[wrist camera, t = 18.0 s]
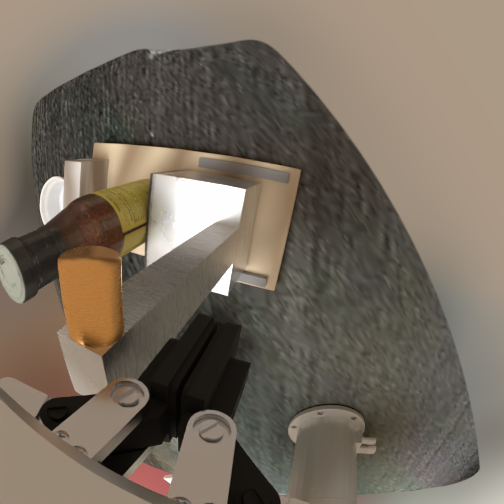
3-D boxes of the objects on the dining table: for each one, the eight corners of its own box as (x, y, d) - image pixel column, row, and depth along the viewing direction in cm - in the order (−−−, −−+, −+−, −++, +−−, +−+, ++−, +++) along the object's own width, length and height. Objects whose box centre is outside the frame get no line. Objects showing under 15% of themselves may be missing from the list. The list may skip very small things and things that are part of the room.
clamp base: (301, 169, 28) (298, 171, 21) (276, 283, 32) (266, 314, 26) (104, 142, 32) (66, 143, 25) (98, 235, 36) (64, 250, 30)
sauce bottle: (136, 175, 30) (-19, 209, 11) (183, 180, 29) (22, 222, 10) (133, 229, 32) (-4, 298, 14) (178, 239, 31) (41, 330, 13)
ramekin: (83, 161, 33) (61, 164, 29) (105, 216, 35) (84, 223, 31) (53, 192, 36) (33, 196, 32) (73, 240, 38) (54, 249, 34)
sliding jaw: (261, 182, 27) (90, 263, 6) (245, 267, 30) (126, 450, 9) (184, 169, 28) (-28, 212, 7) (175, 249, 31) (12, 371, 10)
